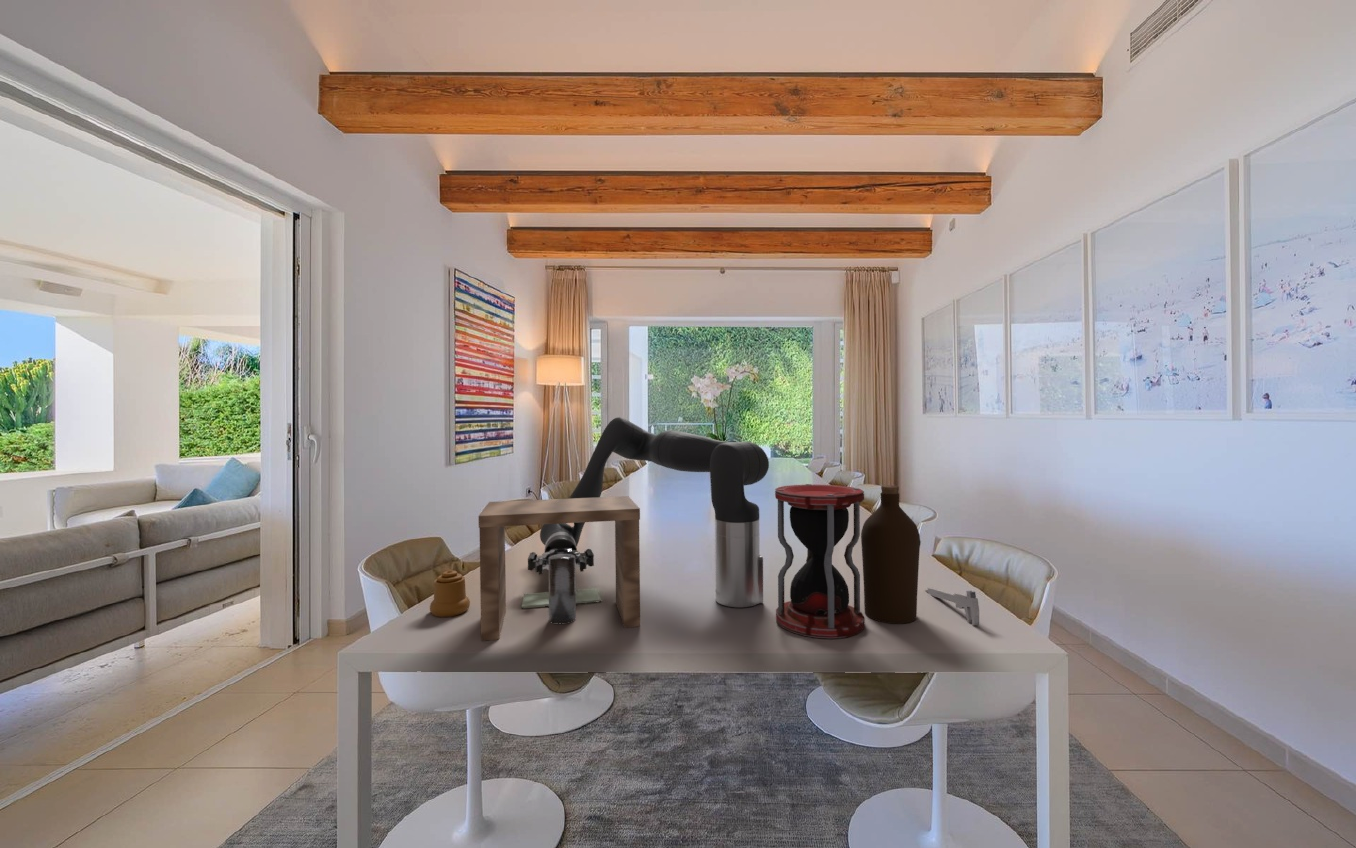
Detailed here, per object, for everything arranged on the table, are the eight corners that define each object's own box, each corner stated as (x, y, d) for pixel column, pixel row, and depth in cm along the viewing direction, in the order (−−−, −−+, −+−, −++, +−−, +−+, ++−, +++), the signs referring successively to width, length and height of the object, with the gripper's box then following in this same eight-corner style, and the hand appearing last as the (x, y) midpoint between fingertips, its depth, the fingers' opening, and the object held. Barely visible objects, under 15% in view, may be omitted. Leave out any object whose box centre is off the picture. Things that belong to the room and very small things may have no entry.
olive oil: (887, 628, 100) (886, 491, 100) (849, 609, 110) (849, 484, 110) (932, 620, 104) (932, 488, 104) (892, 603, 114) (892, 481, 114)
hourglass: (786, 640, 96) (785, 496, 95) (768, 608, 112) (767, 484, 111) (878, 638, 96) (878, 494, 96) (847, 606, 112) (846, 483, 112)
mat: (598, 590, 124) (598, 588, 124) (601, 602, 116) (601, 599, 116) (524, 596, 120) (523, 593, 120) (521, 608, 113) (521, 606, 113)
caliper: (979, 628, 101) (979, 594, 101) (973, 628, 101) (973, 594, 101) (929, 592, 122) (929, 563, 121) (924, 592, 122) (924, 563, 121)
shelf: (629, 599, 117) (628, 496, 117) (641, 628, 102) (639, 508, 101) (490, 611, 111) (489, 501, 111) (480, 643, 96) (478, 516, 95)
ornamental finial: (477, 607, 114) (453, 620, 107) (447, 603, 116) (421, 616, 109) (477, 568, 114) (452, 578, 107) (446, 565, 116) (420, 575, 109)
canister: (575, 613, 109) (574, 553, 109) (576, 623, 105) (575, 559, 104) (549, 615, 108) (548, 554, 108) (549, 625, 104) (548, 561, 103)
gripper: (529, 536, 131) (526, 552, 116) (590, 532, 135) (595, 548, 119) (530, 567, 132) (526, 588, 116) (590, 563, 135) (595, 583, 119)
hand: (561, 568), depth 117 cm, fingers open, 8 cm apart
